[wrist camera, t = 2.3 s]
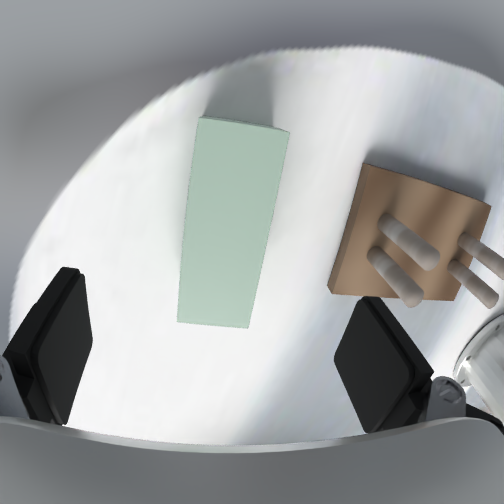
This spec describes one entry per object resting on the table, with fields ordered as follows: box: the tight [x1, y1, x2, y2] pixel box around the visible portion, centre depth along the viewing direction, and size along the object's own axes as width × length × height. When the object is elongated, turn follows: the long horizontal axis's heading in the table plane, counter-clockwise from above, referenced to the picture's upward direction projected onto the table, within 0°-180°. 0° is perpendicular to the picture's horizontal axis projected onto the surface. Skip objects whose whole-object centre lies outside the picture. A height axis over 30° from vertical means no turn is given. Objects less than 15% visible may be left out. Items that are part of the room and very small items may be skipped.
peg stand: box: [327, 163, 504, 309], centre depth 21 cm, size 14×10×7 cm
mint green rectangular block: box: [177, 116, 290, 328], centre depth 19 cm, size 4×12×5 cm, turn 170°
